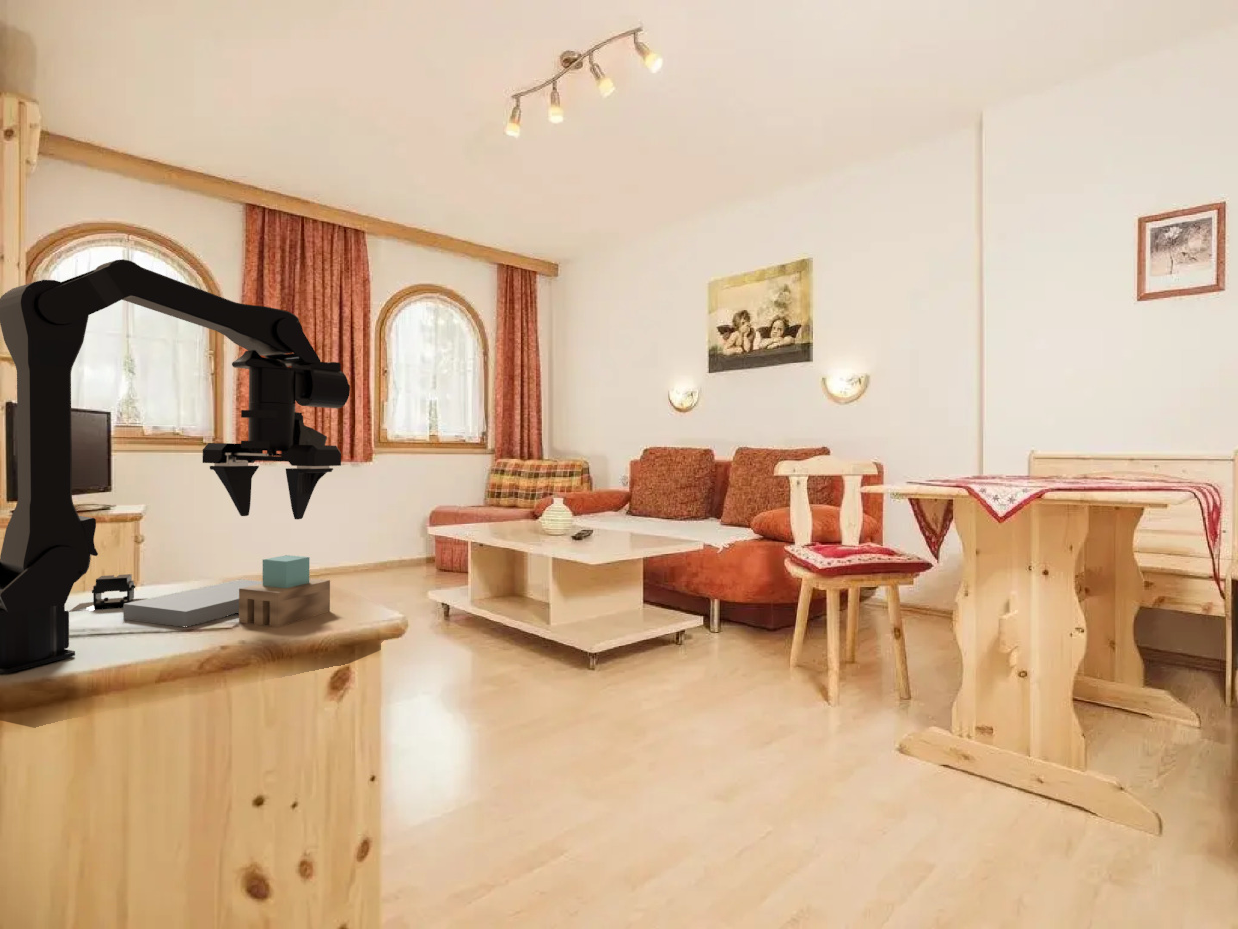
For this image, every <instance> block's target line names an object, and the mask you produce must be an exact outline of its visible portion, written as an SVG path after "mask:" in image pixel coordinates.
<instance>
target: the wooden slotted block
mask: <svg viewBox="0 0 1238 929" xmlns="http://www.w3.org/2000/svg"><path fill="white" fill-rule="evenodd" d="M329 612H331V580H330V579H323V578H312V577H309V583H306V584H302V585H298V586H294V587H289V588H279V587H269V586H263V583H262V584H258V585H253V586H249V587H244V588H240V589H239V613H238V623H244V624H249V623H253V624H254V625H259V626H264V625H268V624H269V627H275V628H280V627H283V626H286V625H289V624H294V623H296V622H300V621H303V620H306V619H311V618H313V617H315V616H320V615H322V614H325V613H329Z"/></svg>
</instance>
